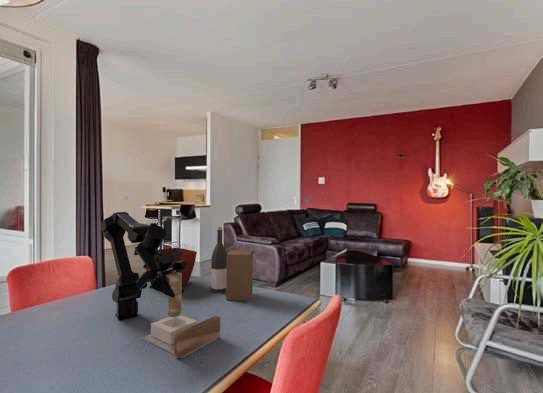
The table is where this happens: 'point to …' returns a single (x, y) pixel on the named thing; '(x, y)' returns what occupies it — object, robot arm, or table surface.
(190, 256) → the plant pot
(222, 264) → the wine bottle
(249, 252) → the wooden block
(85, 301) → the table surface
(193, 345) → the rail base
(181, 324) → the socket block
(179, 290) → the dowel
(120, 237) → the robot arm
